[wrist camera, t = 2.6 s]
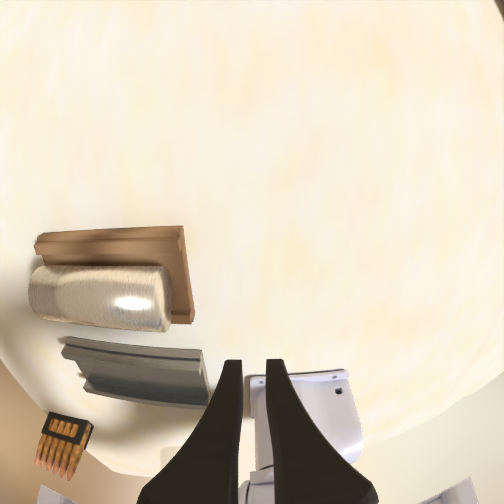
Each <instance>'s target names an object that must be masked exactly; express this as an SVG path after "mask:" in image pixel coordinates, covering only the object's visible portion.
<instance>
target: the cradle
mask: <svg viewBox="0 0 504 504" xmlns="http://www.w3.org/2000/svg"><path fill="white" fill-rule="evenodd" d="M65 344H66V345H65V347H64V348H63V350H62V352H61V354H62V356H63V357H64V358H65V359H69V360H74V361H75V362H76V363H77V365H78V367H79V368H80V370H81V371H82V373H83V375H84V376H85V378H86V379H87V380H86V382H85V385H84V387H83V388H84V390H85V391H86V392H89V393H93V394H97V395H102V396H106V397H111V398H116V399H121V400H127V401H132V402H138V403H145V404H152V405H160V406H168V407H178V408H189V409H203V410H206V408H207V406H208V404H209V402H210V395H211V392H210V388H209V383H208V379H207V374H206V369H205V364H204V359H203V354H202V350H190V349H172V348H157V347H145V346H135V345H125V344H117V343H109V342H101V341H94V340H88V339H81V338H75V337H68V339H67V341H66V342H65Z"/></svg>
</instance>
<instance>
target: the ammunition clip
mask: <svg viewBox="0 0 504 504" xmlns="http://www.w3.org/2000/svg"><path fill="white" fill-rule="evenodd" d="M93 428H94V426H93V425H92V424H91V423H90V422H89V421H88V420H83V419H78V418H73V417H69V416H65V415H61V414H57V413H53V412H49V414H48V417H47V419H46V422H45V424H44V427H43V429H42V437H41V439H40V442H39V445H38V450H37V453H36V457H35V465H37V464H38V463H39V462H40V461H41V468H43V467H44V466H45V465H46V463H47V471H49V470H50V469H51V468H52V466H53V474H56V473H57V471H58V470H59V468H60V476H61V478H62V477H63V476H64V475H65V473H66V471H67V469H68V473H67V478H68V481H69V480H71V478H72V477H73V475H74V473H75V470H76V468H77V465H78V463H79V461H80V459H81V455H82V452H83V449H84V450H85V449H86V446H87V444H88V441H89V438H90V436H91V433H92V430H93ZM53 464H54V465H53ZM60 466H61V467H60ZM68 466H69V467H68Z"/></svg>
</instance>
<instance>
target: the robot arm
mask: <svg viewBox="0 0 504 504" xmlns="http://www.w3.org/2000/svg"><path fill="white" fill-rule="evenodd" d="M348 376H349V372H348V371H347V370H342V371H333V372H323V373H312V374H299V375H288V373H287V370H286V367H285V364H284V361H283V360H282V359H267V360H266V376H254V377H251V378H250V408H251V417H252V418H255V453H256V455H255V457H256V471H254V472H250V480H247V481H244V482H243V484H242V485H241V486H240V487H239V488H238V451H239V441H240V432H241V423H242V414H243V375H242V360H226V361H225V362H224V367H223V370H222V373H221V376H220V379H219V382H218V384H217V387H216V389H215V391H214V394H213V396H212V398H211V400H210V402H209V404H208V406H207V408H206V410H205V412H204V414H203V416H202V417H201V419H200V421H199V423H198V424H197V426H196V427H195V429H194V431H193V432H192V434H191V435H190V436H189V438H188V439H187V441H186V442H185V443H184V445H183V446H182V447H181V449H180V450H179V451H178V452H177V454H176V455H175V456H174V457H173V458H172V459H171V460H170V462H169V463H168V464H167V465H166V466H165V467H164V468H163V469H162V470H161V471H160V472H159V473H158V474H157V475H156V476H155V477H154V478H153V479H152V480H151V481H150V482H148V483H147V484H146V485H145V486H144V487H143V488H142V490H141V492H140V495H139V497H138V500H137V504H378V502H379V500H378V495H377V493H376V490H375V488H374V486H373V484H372V483H371V482H370V481H369V480H368V479H366V478H365V477H364V476H363V475H361V474H360V473H359V472H358V470H357V469H356V468H354V467H352V466H351V465H350V464H351V463H354V462H356V461H357V460H358V459H359V457H360V454H361V451H362V445H363V436H362V428H361V423H360V420H359V416H358V413H357V409H356V406H355V402H354V399H353V395H352V392H351V389H350V386H349V382H348ZM36 504H79V503H77V502H75V501H72V500H71V499H69V498H66V497H65V496H63V495H61V494H59V493H57V492H55V491H53V490H51V489H49V488H47V487H45V486H43V485H42V486H41V487H40V491H39V494H38V498H37V502H36ZM418 504H478V500H477V497H476V494H475V490H474V487H473V484H472V481H471V478H470V477H468V478H466V479H464V480H462V481H461V482H459V483H457V484H455V485H454V486H452V487H450V488H448V489H446V490H444V491H443V492H441V493H439V494H437V495H435V496H433V497H431V498H429V499H427V500H425V501H423V502H420V503H418Z"/></svg>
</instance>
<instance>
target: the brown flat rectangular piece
mask: <svg viewBox="0 0 504 504" xmlns="http://www.w3.org/2000/svg"><path fill="white" fill-rule="evenodd" d="M37 240H38V242H37V243H36V244H35V245H34V248H35V251H36V254H37V255H42V257H43V260H44V263H45V265H63V266H165V267H166V268H167V269H168V271H169V273H170V276H171V280H172V286H173V313H172V319H171V323H170V324H191V323H192V322H193V320H194V316H195V310H194V303H193V297H192V291H191V284H190V277H189V270H188V263H187V255H186V247H185V239H184V230H183V226H163V227H138V228H116V229H97V230H80V231H65V232H51V233H43V234H42V235H41V236H39V237H38V238H37Z"/></svg>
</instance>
